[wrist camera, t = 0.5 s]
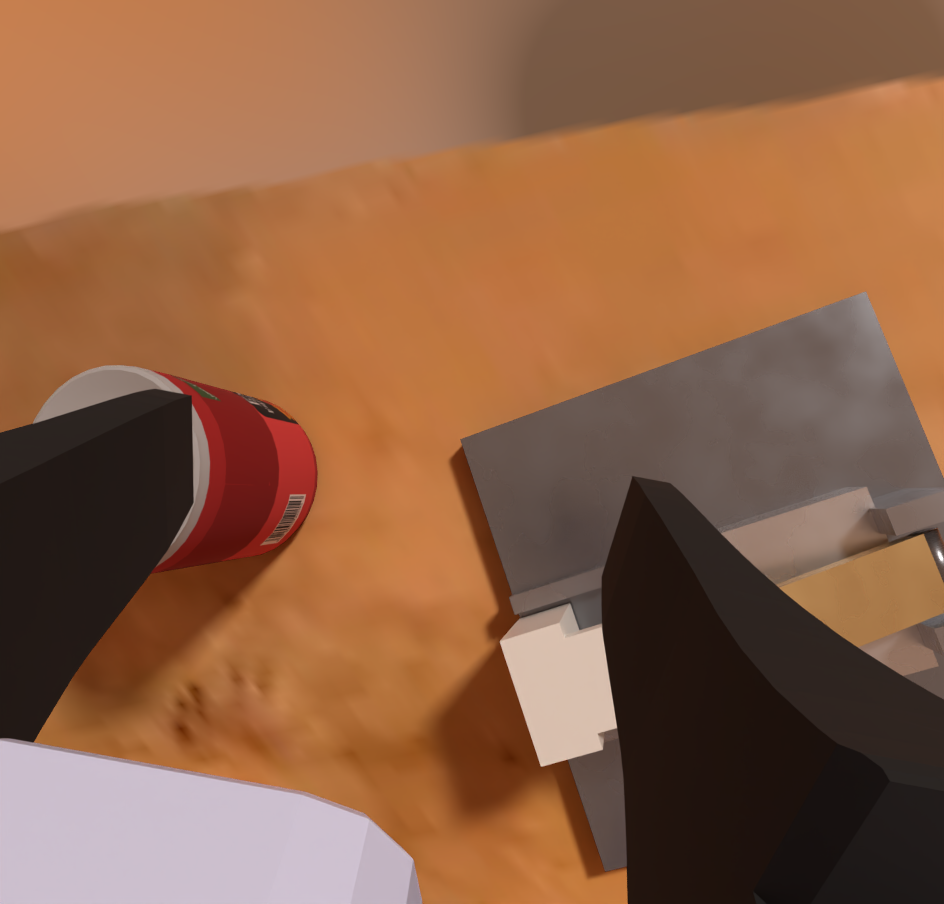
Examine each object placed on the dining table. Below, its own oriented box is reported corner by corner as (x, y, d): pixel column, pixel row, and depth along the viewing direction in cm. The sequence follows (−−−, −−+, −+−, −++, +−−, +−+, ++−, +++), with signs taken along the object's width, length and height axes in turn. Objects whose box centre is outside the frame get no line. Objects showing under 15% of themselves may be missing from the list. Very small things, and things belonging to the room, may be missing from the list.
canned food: (313, 388, 38) (188, 345, 27) (332, 545, 37) (212, 566, 26) (178, 413, 39) (8, 382, 28) (194, 565, 38) (26, 591, 28)
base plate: (1043, 749, 30) (1143, 809, 24) (605, 858, 33) (601, 935, 28) (857, 298, 33) (907, 255, 27) (465, 441, 36) (434, 430, 30)
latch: (673, 690, 32) (682, 727, 27) (554, 724, 33) (541, 766, 28) (635, 582, 32) (636, 598, 27) (519, 618, 33) (499, 641, 28)
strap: (953, 600, 27) (975, 601, 26) (701, 700, 26) (713, 706, 25) (924, 528, 28) (943, 526, 27) (673, 622, 26) (684, 623, 25)
